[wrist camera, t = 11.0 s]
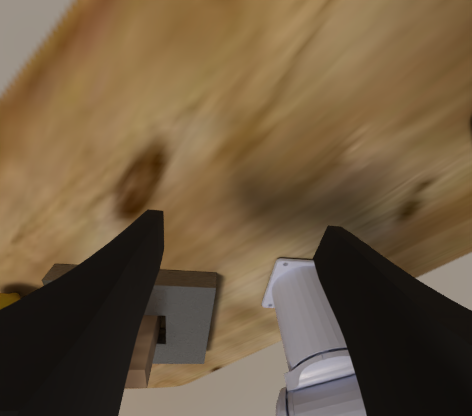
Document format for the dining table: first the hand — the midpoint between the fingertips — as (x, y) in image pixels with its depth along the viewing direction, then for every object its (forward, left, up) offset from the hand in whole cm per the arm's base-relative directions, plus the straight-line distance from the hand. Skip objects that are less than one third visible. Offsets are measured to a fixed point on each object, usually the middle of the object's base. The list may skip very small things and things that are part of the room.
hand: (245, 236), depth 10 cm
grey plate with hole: (+8, +21, -9) cm, 24 cm away
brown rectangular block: (+8, +21, -10) cm, 24 cm away
